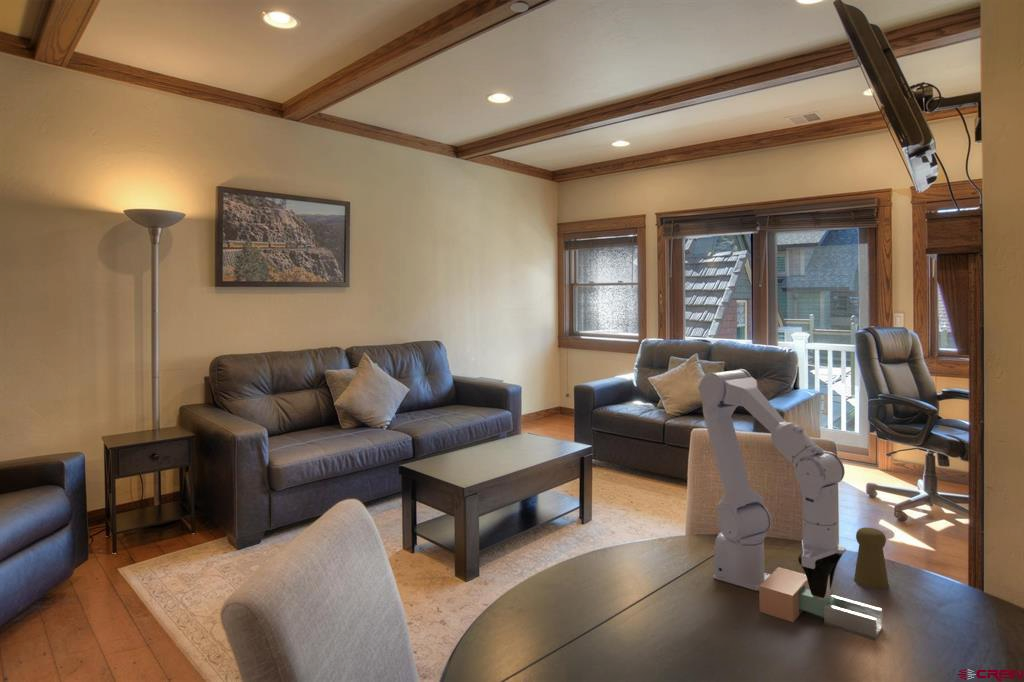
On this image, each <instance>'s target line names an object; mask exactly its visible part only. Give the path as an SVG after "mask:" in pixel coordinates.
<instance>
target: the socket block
mask: <svg viewBox="0 0 1024 682" xmlns="http://www.w3.org/2000/svg"><path fill="white" fill-rule="evenodd" d="M802 588H805V589H808V590H810V588H809V584H808V580H807V577H806V574H805V573H802V572H798V571H796V570H795V571H794V570H791V569H788V568H784V567H779V566H778V567H777V568H776V569H774V571H773V572H772V573H770V576H769V577H768V578H767V579H766V580H765V581H764V582H763V583H762V584H761V585H760V586H759V591H758V592H759V593H758V594H759V598H758V599H759V612H760V613H763V614H767V615H770V616H773V617H774V618H779V619H781V620H785V621H788V622H790V623H794V622H796V620H797V618H799V616H800V615H801V613H802V612H803V611H804V610H801V609H799V591H800V590H801V589H802Z"/></svg>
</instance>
